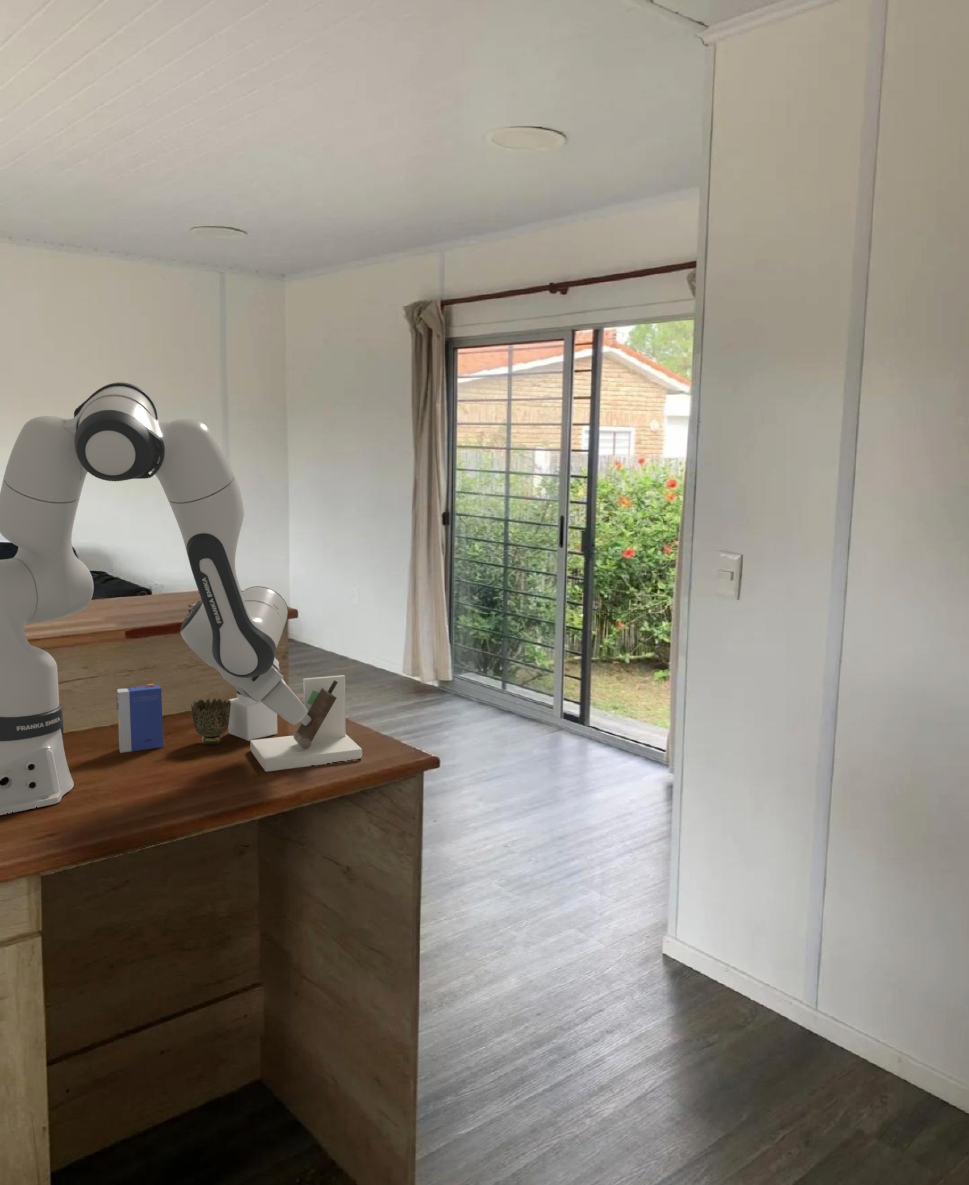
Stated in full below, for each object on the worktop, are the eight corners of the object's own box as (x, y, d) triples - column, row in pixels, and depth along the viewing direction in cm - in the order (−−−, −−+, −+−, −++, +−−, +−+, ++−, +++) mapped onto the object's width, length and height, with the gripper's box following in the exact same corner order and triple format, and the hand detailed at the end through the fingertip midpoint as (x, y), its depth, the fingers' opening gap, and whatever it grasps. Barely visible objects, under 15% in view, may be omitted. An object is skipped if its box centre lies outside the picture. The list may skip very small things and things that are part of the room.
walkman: (160, 743, 188) (158, 683, 186) (163, 747, 185) (161, 686, 183) (117, 748, 184) (115, 687, 182) (120, 752, 182) (117, 690, 180)
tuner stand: (265, 771, 173) (264, 695, 170) (250, 750, 184) (249, 678, 182) (362, 759, 180) (361, 686, 178) (341, 739, 192) (341, 671, 190)
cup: (225, 749, 185) (224, 708, 184) (187, 748, 185) (185, 707, 184) (236, 737, 192) (235, 698, 191) (199, 736, 192) (198, 697, 191)
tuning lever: (298, 746, 177) (335, 681, 178) (291, 738, 182) (327, 675, 183) (307, 750, 178) (344, 686, 179) (300, 742, 183) (336, 680, 184)
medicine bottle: (278, 734, 195) (277, 676, 193) (247, 741, 190) (246, 682, 188) (258, 726, 200) (257, 670, 198) (227, 733, 195) (226, 675, 193)
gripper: (231, 672, 183) (282, 718, 189) (253, 700, 165) (308, 750, 170) (255, 648, 184) (305, 694, 190) (279, 673, 166) (333, 723, 171)
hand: (307, 721), depth 180 cm, fingers closed, pressing on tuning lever
